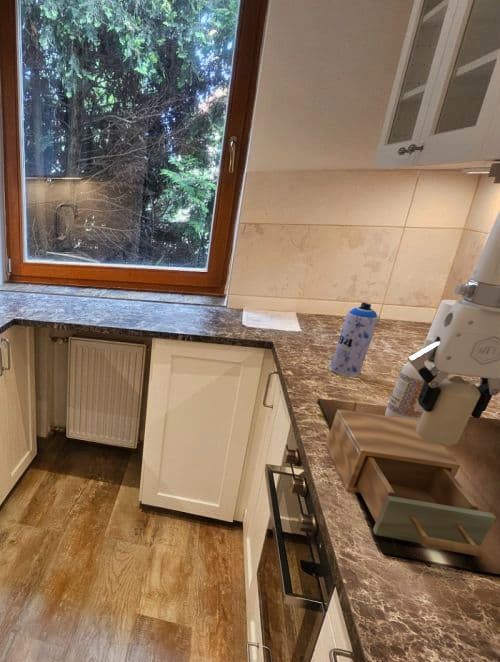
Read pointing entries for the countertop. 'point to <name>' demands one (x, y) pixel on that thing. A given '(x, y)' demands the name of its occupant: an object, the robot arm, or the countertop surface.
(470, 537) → the drawer
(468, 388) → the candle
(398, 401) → the bath foam
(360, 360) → the aerosol can
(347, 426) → the cabinet
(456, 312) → the robot arm
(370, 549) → the countertop surface
